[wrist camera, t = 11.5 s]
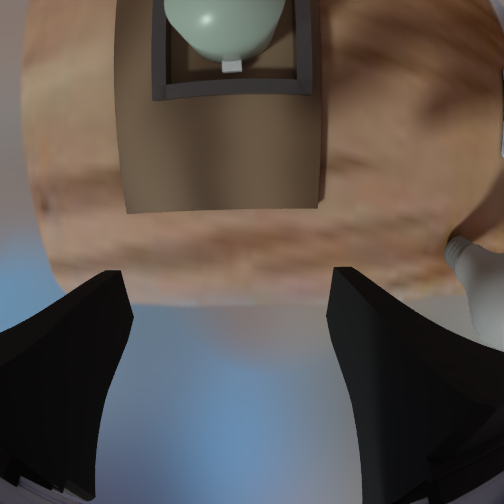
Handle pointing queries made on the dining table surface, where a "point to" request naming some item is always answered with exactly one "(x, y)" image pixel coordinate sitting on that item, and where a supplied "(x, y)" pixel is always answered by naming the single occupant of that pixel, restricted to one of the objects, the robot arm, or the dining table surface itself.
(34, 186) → the dining table surface
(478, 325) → the lightbulb
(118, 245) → the dining table surface
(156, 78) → the dark grey square frame
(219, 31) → the pale green pear shape
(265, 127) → the board
